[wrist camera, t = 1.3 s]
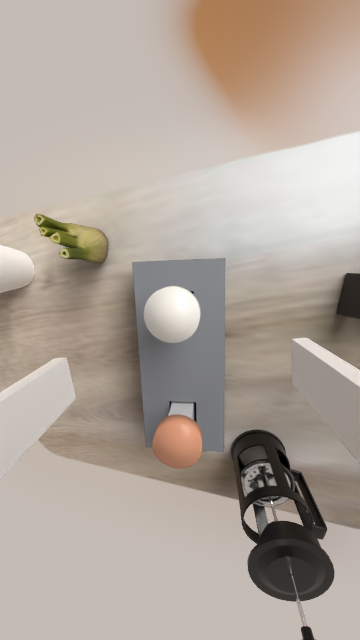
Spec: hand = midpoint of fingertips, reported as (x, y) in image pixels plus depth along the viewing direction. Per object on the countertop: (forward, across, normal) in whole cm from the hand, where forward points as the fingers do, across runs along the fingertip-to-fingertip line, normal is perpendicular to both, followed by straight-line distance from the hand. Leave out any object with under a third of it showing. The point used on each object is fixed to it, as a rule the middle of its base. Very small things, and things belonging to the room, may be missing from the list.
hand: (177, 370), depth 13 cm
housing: (+25, +1, +7) cm, 26 cm away
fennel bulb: (+26, +14, -11) cm, 31 cm away
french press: (+24, -10, +28) cm, 38 cm away
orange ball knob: (+20, +2, +15) cm, 25 cm away
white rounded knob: (+20, +1, -1) cm, 20 cm away
